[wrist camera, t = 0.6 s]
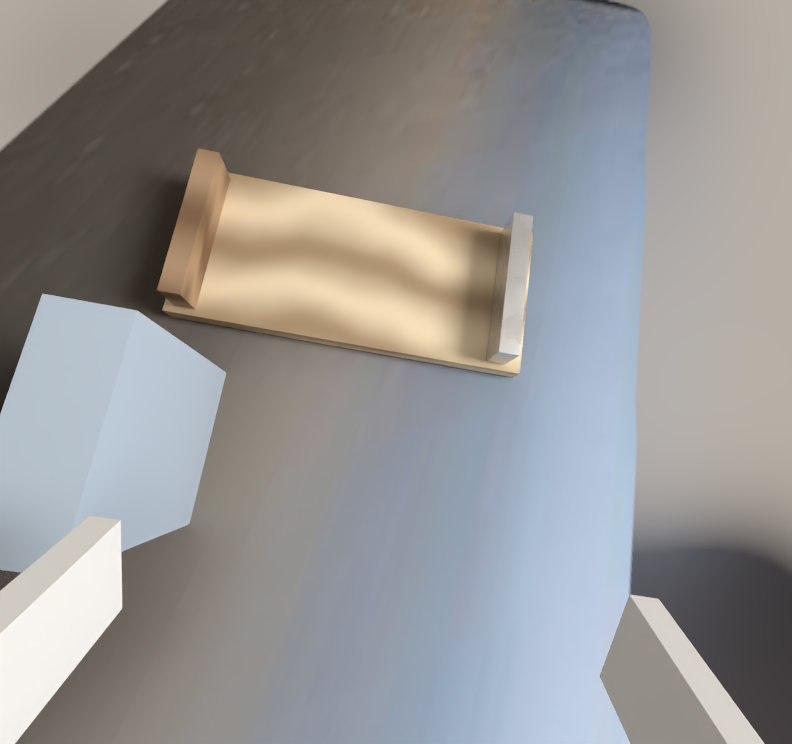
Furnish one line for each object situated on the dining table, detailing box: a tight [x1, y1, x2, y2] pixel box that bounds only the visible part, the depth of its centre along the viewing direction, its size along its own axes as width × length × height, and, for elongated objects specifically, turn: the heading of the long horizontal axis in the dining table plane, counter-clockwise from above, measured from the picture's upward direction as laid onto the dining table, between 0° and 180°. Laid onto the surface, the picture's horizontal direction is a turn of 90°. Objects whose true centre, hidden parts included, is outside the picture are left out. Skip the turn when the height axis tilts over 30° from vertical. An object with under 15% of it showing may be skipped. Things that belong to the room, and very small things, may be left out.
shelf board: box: [157, 148, 533, 377], centre depth 33 cm, size 12×27×4 cm, turn 81°
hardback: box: [0, 294, 226, 573], centre depth 25 cm, size 4×11×14 cm, turn 171°
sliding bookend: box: [486, 212, 533, 365], centre depth 33 cm, size 11×2×3 cm, turn 171°
